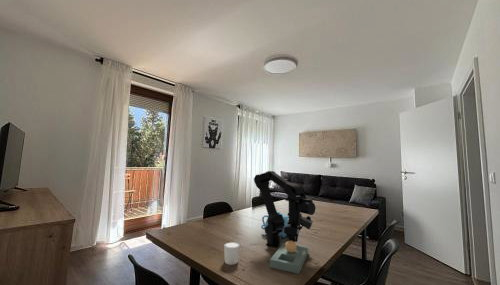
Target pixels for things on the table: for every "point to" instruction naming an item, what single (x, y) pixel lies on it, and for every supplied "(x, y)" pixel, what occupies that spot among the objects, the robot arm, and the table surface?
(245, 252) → the table surface
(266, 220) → the decorative pot
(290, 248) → the ball
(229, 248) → the white cylinder
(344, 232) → the table surface
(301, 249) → the deck
